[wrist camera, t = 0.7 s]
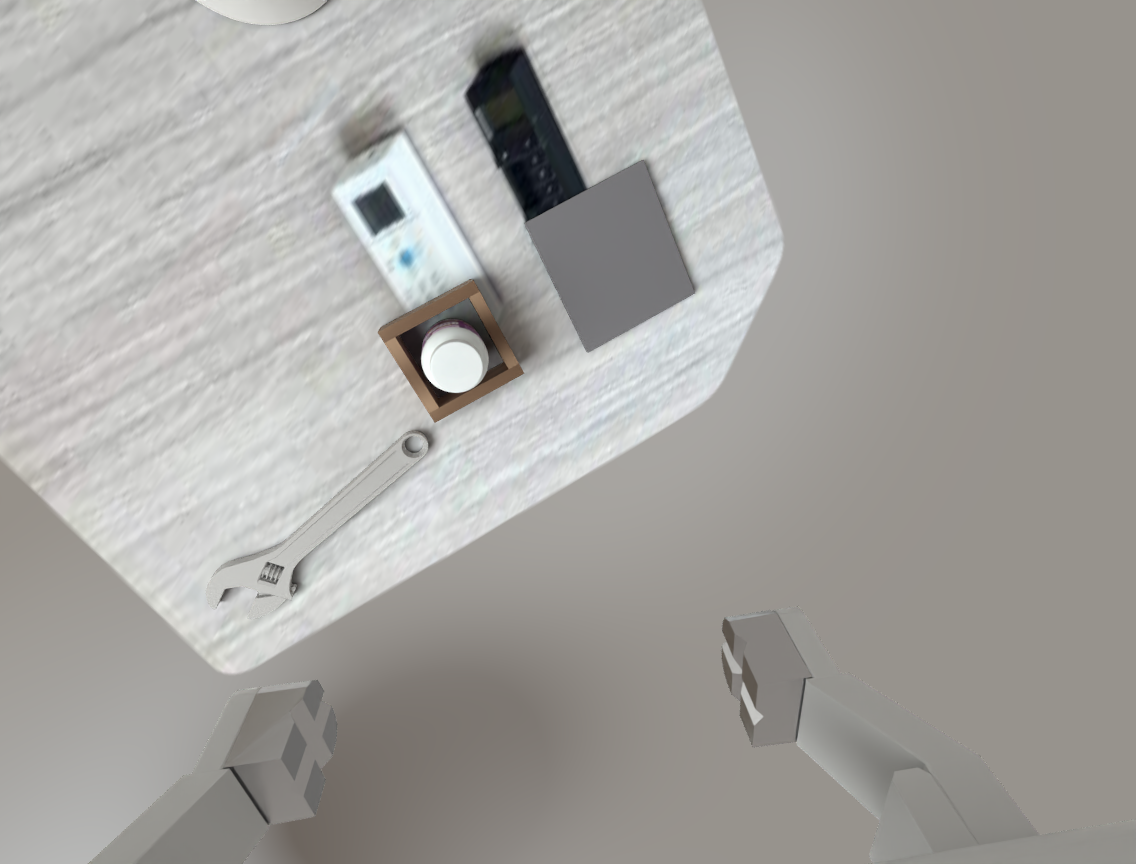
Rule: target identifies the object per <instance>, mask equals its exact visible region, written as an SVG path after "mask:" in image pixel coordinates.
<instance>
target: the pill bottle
mask: <svg viewBox="0 0 1136 864" xmlns="http://www.w3.org/2000/svg"><path fill="white" fill-rule="evenodd" d="M421 364H422V368H423V371H424V373H425V375H426V377H427V378H428V380H429V381H430V382H431V383H432V384H433V385H434V386H436V387H437V388H439V389H441V390H443V391H446V392H451V393H460V392H465V391H468V390H470V389H472V388H474V387H475V386H476V385H478V384H479V383H480V382H481V381H482V379H483V378H484V376H485V374H486V372H487V369H488V364H489V357H488V352H487V348H486V346H485V344H484V342H483V341H482V339H481V337H480V335H479V334H478V332H477V331H476V330H475V329H474V327H472V326H471V325H470V324H468V323H467V322H465V321H462V320H459V319H446V320H442V321H440V322H438V323H436V324H434V325H433V326H432V327H431V328H430V329H429V330H428V331H427V333H426V335H425V337H424V340H423V345H422V354H421Z"/></svg>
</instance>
